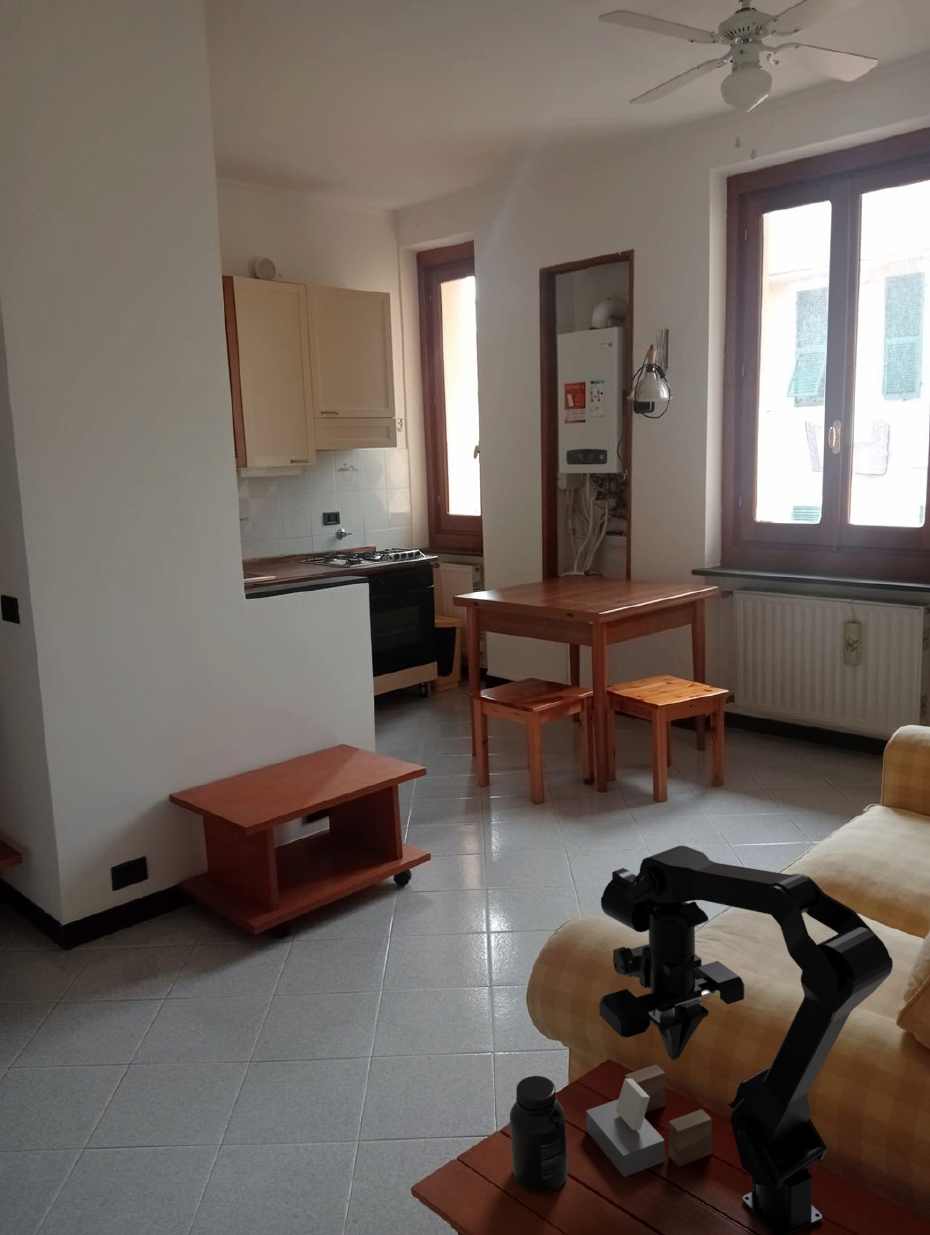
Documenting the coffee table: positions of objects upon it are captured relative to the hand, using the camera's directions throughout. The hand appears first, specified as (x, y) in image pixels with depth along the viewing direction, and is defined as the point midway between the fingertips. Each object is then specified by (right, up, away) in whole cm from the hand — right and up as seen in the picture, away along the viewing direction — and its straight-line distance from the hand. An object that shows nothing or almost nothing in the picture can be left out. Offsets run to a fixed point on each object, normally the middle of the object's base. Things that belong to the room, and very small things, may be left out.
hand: (673, 1057), depth 123 cm
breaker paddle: (-6, -7, -1) cm, 10 cm away
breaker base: (-7, -11, -1) cm, 13 cm away
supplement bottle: (-18, -12, -5) cm, 22 cm away
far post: (-3, -10, +6) cm, 12 cm away
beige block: (+1, -11, -3) cm, 11 cm away
